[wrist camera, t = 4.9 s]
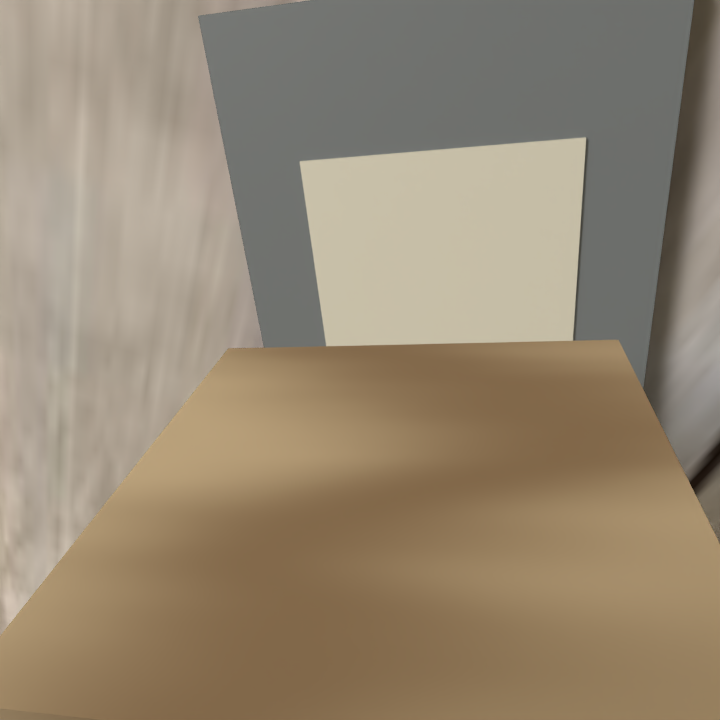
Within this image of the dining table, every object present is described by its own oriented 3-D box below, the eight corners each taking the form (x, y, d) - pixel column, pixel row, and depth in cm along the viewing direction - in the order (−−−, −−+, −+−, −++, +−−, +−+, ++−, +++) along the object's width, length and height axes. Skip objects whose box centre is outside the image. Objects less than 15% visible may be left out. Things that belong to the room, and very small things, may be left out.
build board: (683, -46, 13) (703, -55, 12) (621, 464, 19) (630, 490, 18) (217, 17, 15) (196, 15, 14) (299, 459, 22) (289, 482, 20)
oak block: (618, 339, 7) (848, 801, 3) (589, 624, 9) (691, 1123, 5) (228, 348, 8) (-53, 702, 4) (287, 604, 10) (154, 1009, 6)
